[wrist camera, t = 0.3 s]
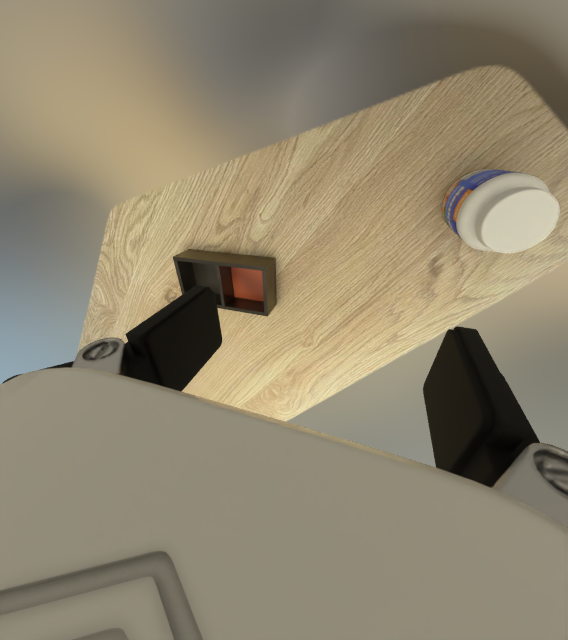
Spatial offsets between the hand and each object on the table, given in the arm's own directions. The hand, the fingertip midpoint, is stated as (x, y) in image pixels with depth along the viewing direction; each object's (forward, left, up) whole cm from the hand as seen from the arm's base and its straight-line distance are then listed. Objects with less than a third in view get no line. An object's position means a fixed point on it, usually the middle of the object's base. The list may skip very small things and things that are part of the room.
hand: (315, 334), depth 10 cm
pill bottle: (-2, +10, -22) cm, 25 cm away
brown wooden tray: (+9, -17, -22) cm, 29 cm away
